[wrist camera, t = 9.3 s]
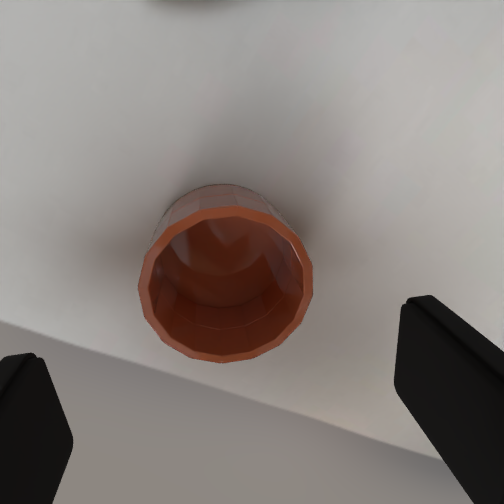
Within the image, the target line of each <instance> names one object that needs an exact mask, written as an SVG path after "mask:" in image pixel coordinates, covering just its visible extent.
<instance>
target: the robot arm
mask: <svg viewBox="0 0 504 504" xmlns="http://www.w3.org/2000/svg"><path fill="white" fill-rule="evenodd" d="M394 386H395V390H396V392H397V394H398V396H399V397H400V399H401V400H402V401H403V403H404V404H405V406H406V407H407V409H408V410H409V411H410V413H411V414H412V416H413V417H414V419H415V420H416V421H417V423H418V424H419V426H420V427H421V429H422V430H423V432H424V433H425V434H426V436H427V437H428V439H429V440H430V442H431V443H432V444H433V446H434V447H435V449H436V450H437V452H438V453H439V454H440V456H441V457H442V459H443V460H444V462H445V463H446V464H447V466H448V467H449V469H450V470H451V472H452V473H453V474H454V476H455V477H456V479H457V480H458V481H459V483H460V484H461V486H462V487H463V489H464V490H465V492H466V493H467V494H468V496H469V497H470V499H471V500H472V502H473V503H474V504H504V352H503V351H502V350H501V349H500V348H498V347H497V346H496V345H495V344H493V343H492V342H491V341H489V340H488V339H487V338H486V337H484V336H483V335H482V334H481V333H479V332H478V331H477V330H476V329H474V328H473V327H472V326H471V325H469V324H468V323H467V322H465V321H464V320H463V319H462V318H460V317H459V316H458V315H457V314H455V313H454V312H453V311H452V310H450V309H449V308H448V307H447V306H445V305H444V304H443V303H441V302H440V301H439V300H438V299H436V298H435V297H434V296H432V295H425V296H418V297H411V298H409V299H408V300H407V301H406V304H403V305H402V307H401V313H400V323H399V333H398V343H397V354H396V364H395V374H394ZM72 448H73V436H72V433H71V430H70V428H69V425H68V422H67V419H66V417H65V414H64V411H63V409H62V406H61V404H60V401H59V399H58V396H57V393H56V390H55V388H54V385H53V383H52V380H51V377H50V375H49V372H48V369H47V367H46V364H45V362H44V360H43V359H42V358H40V357H39V358H37V357H36V355H35V354H34V353H25V354H18V355H11V356H6V357H4V358H3V359H2V360H1V361H0V504H52V503H53V500H54V497H55V495H56V492H57V490H58V487H59V484H60V482H61V479H62V476H63V473H64V471H65V468H66V466H67V463H68V460H69V457H70V455H71V452H72Z"/></svg>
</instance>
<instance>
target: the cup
mask: <svg viewBox="0 0 504 504" xmlns="http://www.w3.org/2000/svg"><path fill="white" fill-rule="evenodd" d="M138 291H139V296H140V300H141V305H142V309H143V313H144V317H145V319H146V320H147V322H148V323H149V324H150V326H151V327H152V328H153V330H154V331H155V332H156V333H157V335H158V336H159V337H160V339H161V340H162V341H163V342H164V343H165V344H167V345H169V346H170V347H172V348H174V349H176V350H177V351H179V352H181V353H183V354H184V355H186V356H188V357H189V358H193V359H199V360H204V361H210V362H216V363H228V362H235V361H241V360H248V359H252V358H255V357H257V356H259V355H261V354H263V353H265V352H267V351H269V350H271V349H273V348H275V347H277V346H279V345H280V344H281V343H282V342H283V341H284V340H285V339H286V338H287V337H288V336H289V335H290V334H291V333H292V332H293V331H294V330H295V329H296V328H297V327H298V326H299V325H300V324H301V322H302V320H303V318H304V315H305V313H306V310H307V308H308V306H309V303H310V301H311V298H312V296H313V266H312V263H311V261H310V258H309V256H308V254H307V252H306V250H305V248H304V246H303V244H302V242H301V240H300V238H299V237H298V235H297V234H296V233H295V231H294V230H293V229H292V228H291V226H290V225H289V224H288V223H287V221H286V220H285V219H284V218H283V216H282V215H281V214H280V212H279V211H278V210H277V209H276V208H275V207H273V206H272V205H271V204H270V203H269V202H268V201H267V200H266V199H264V198H263V197H262V196H260V195H259V194H257V193H255V192H253V191H251V190H249V189H246V188H243V187H240V186H235V185H227V184H219V185H210V186H205V187H202V188H198V189H196V190H193V191H191V192H189V193H187V194H186V195H184V196H183V197H181V198H180V199H178V200H177V201H176V202H175V203H174V204H173V205H172V206H171V207H170V208H169V209H168V210H167V212H166V213H165V215H164V216H163V218H162V219H161V221H160V222H159V223H158V225H157V227H156V230H155V232H154V235H153V237H152V240H151V242H150V245H149V247H148V250H147V252H146V255H145V258H144V262H143V266H142V270H141V275H140V279H139V283H138Z"/></svg>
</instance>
